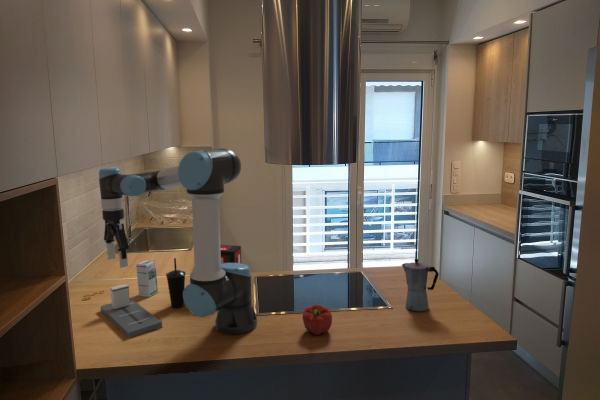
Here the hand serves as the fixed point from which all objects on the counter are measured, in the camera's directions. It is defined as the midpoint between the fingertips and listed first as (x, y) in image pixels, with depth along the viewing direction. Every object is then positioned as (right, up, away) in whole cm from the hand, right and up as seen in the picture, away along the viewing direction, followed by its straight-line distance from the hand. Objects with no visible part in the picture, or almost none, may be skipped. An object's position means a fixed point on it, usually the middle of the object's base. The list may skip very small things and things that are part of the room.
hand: (117, 262), depth 170 cm
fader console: (+6, -21, -3) cm, 22 cm away
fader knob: (0, -17, +3) cm, 18 cm away
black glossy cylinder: (+21, -19, +9) cm, 29 cm away
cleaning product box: (+36, -16, +23) cm, 46 cm away
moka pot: (+118, -19, +4) cm, 119 cm away
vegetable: (+77, -23, -15) cm, 82 cm away
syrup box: (+5, -17, +21) cm, 27 cm away
